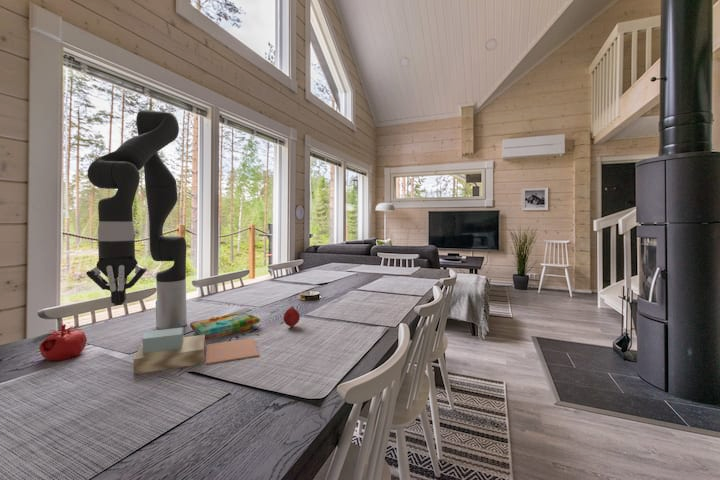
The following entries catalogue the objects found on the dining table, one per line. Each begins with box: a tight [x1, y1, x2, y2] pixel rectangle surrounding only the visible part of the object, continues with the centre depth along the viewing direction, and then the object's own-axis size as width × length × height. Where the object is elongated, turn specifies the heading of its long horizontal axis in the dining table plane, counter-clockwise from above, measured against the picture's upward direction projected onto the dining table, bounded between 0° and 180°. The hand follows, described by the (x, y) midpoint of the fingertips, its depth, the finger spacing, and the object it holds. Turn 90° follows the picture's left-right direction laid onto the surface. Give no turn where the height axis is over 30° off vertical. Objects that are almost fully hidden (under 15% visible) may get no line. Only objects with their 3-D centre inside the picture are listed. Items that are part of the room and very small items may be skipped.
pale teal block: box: [141, 326, 185, 354], centre depth 88 cm, size 9×6×4 cm, turn 115°
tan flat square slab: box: [205, 337, 260, 366], centre depth 96 cm, size 14×14×1 cm
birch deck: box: [132, 334, 206, 375], centre depth 89 cm, size 16×12×4 cm
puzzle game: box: [189, 311, 261, 341], centre depth 113 cm, size 12×5×20 cm
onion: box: [283, 305, 301, 328], centre depth 117 cm, size 6×6×8 cm
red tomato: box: [38, 324, 88, 362], centre depth 90 cm, size 10×10×9 cm
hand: (118, 304), depth 83 cm, fingers closed
